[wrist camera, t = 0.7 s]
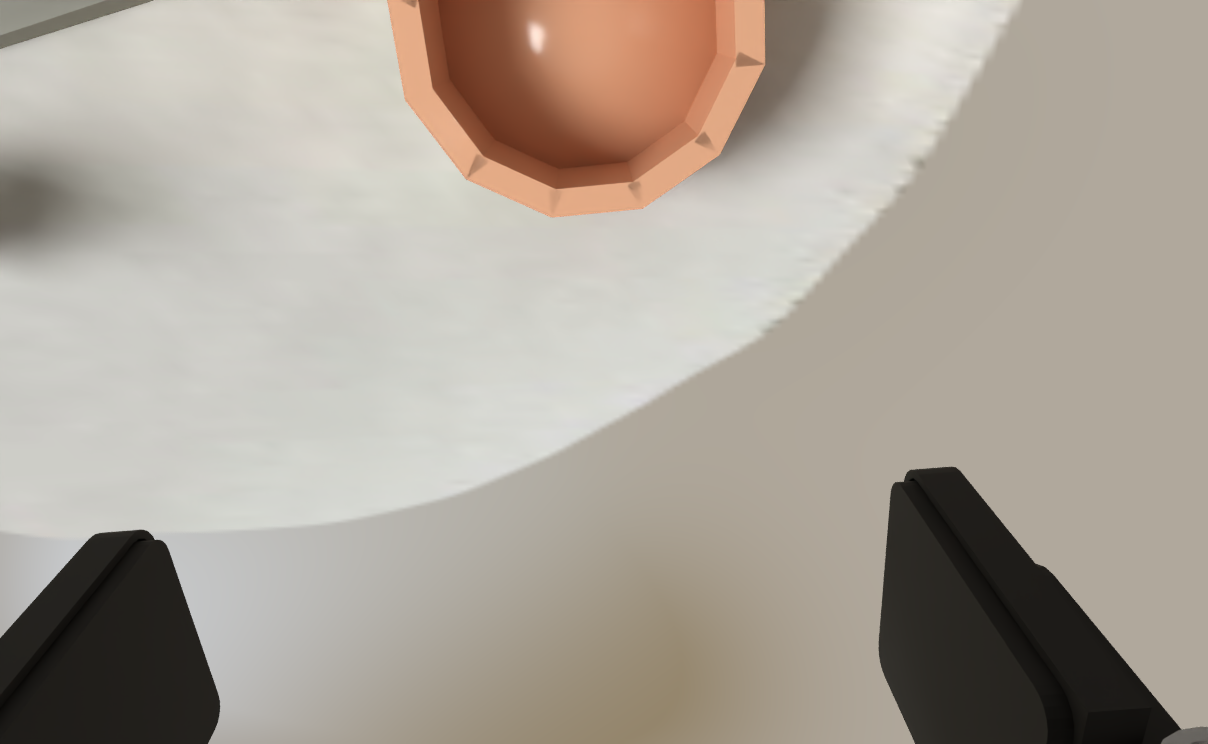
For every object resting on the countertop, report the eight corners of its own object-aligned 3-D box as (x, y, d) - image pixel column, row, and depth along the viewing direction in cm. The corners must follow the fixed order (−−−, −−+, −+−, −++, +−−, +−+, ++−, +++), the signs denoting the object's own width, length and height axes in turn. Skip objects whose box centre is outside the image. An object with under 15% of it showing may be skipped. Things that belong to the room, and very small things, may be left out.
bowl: (390, -142, 30) (357, -168, 26) (733, -177, 30) (761, -209, 26) (447, 200, 35) (427, 229, 31) (742, 171, 35) (766, 196, 31)
